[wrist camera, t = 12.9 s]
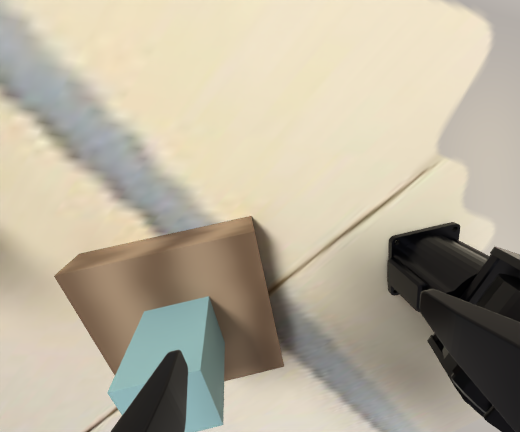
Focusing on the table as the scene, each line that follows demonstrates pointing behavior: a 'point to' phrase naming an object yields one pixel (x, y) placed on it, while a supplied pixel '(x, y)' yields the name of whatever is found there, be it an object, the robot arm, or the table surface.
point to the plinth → (179, 291)
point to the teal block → (195, 354)
